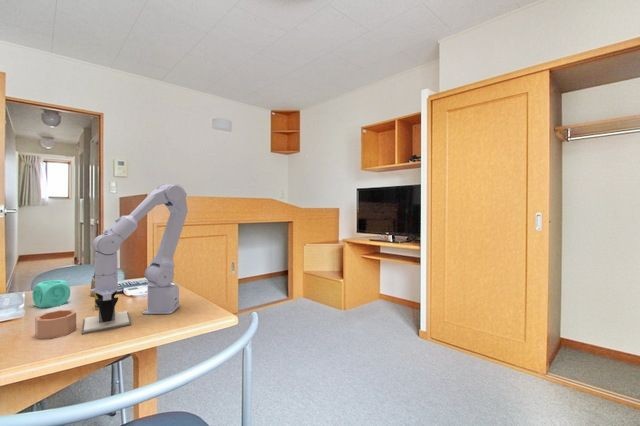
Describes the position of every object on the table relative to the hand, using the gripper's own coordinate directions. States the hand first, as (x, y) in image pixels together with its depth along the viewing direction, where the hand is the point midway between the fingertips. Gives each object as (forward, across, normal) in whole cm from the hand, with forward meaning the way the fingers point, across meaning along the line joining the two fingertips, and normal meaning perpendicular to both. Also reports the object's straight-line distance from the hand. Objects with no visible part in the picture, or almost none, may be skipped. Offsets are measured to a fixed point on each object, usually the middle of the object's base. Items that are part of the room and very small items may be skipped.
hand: (106, 317), depth 96 cm
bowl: (+2, 0, -12) cm, 12 cm away
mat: (+2, 0, 0) cm, 2 cm away
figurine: (+2, -37, -1) cm, 37 cm away
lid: (+1, 0, 0) cm, 1 cm away
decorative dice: (+2, -32, -16) cm, 36 cm away
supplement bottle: (+2, -18, -1) cm, 18 cm away
